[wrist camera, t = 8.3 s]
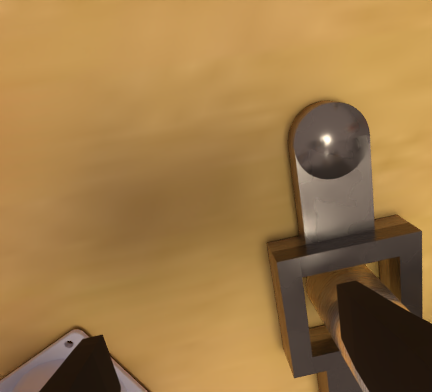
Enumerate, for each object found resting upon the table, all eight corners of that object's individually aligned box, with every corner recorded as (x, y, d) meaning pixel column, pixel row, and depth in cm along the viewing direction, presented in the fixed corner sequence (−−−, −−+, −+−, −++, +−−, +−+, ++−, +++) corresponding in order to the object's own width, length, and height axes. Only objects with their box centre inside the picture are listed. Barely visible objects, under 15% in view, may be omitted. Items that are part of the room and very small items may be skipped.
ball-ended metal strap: (403, 407, 27) (423, 437, 25) (296, 431, 27) (307, 464, 25) (393, 86, 20) (420, 88, 18) (246, 116, 20) (255, 122, 17)
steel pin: (329, 320, 24) (410, 453, 16) (293, 281, 23) (359, 403, 15) (379, 282, 24) (491, 400, 15) (344, 240, 23) (445, 343, 14)
